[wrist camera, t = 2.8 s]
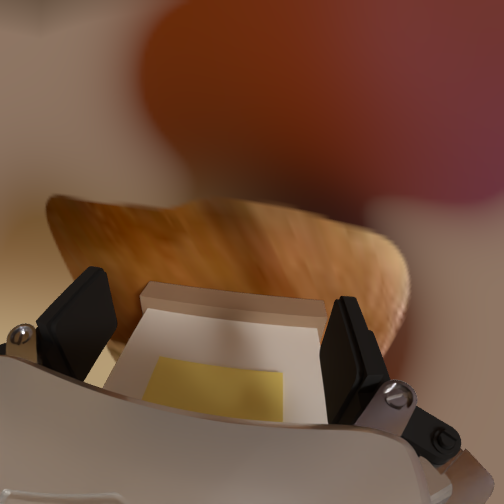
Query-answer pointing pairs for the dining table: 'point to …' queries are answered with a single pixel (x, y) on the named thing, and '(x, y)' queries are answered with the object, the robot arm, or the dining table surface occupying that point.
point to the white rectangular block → (225, 354)
